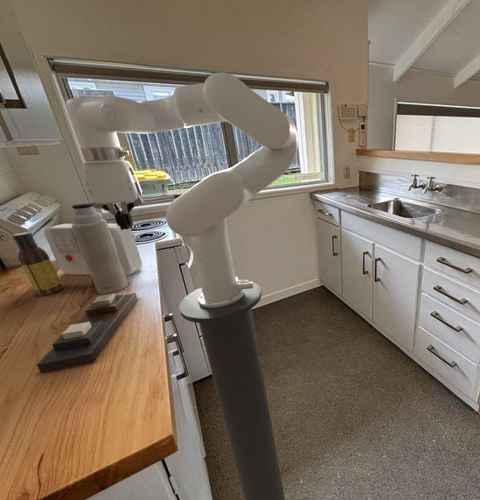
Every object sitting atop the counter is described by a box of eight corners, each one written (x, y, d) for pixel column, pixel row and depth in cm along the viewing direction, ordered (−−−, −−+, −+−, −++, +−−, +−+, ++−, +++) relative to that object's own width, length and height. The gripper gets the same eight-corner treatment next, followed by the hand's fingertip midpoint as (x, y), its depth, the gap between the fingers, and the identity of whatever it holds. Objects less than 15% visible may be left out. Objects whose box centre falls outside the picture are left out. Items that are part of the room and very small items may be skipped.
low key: (116, 299, 79) (114, 293, 78) (111, 305, 76) (108, 299, 75) (101, 301, 78) (98, 296, 77) (94, 308, 75) (92, 302, 74)
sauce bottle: (68, 285, 95) (43, 229, 88) (54, 294, 90) (26, 235, 83) (46, 288, 94) (19, 231, 87) (30, 297, 89) (0, 237, 81)
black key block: (119, 325, 73) (114, 312, 72) (93, 362, 61) (86, 347, 59) (76, 333, 71) (70, 319, 69) (40, 373, 58) (32, 357, 57)
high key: (92, 327, 67) (89, 321, 66) (84, 336, 63) (81, 330, 63) (73, 331, 66) (70, 324, 65) (64, 340, 62) (61, 334, 62)
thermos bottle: (91, 295, 89) (56, 207, 79) (107, 283, 96) (76, 202, 86) (119, 292, 90) (88, 205, 80) (132, 281, 98) (105, 200, 88)
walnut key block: (137, 299, 86) (133, 287, 84) (119, 325, 73) (114, 312, 72) (102, 305, 83) (97, 293, 82) (76, 333, 71) (70, 319, 69)
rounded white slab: (55, 277, 102) (33, 229, 96) (76, 268, 109) (57, 223, 103) (127, 278, 100) (110, 229, 93) (144, 269, 107) (129, 223, 100)
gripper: (144, 154, 74) (162, 221, 81) (74, 156, 70) (99, 227, 76) (134, 155, 68) (154, 228, 74) (56, 157, 63) (85, 235, 70)
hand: (126, 228), depth 75 cm, fingers closed
